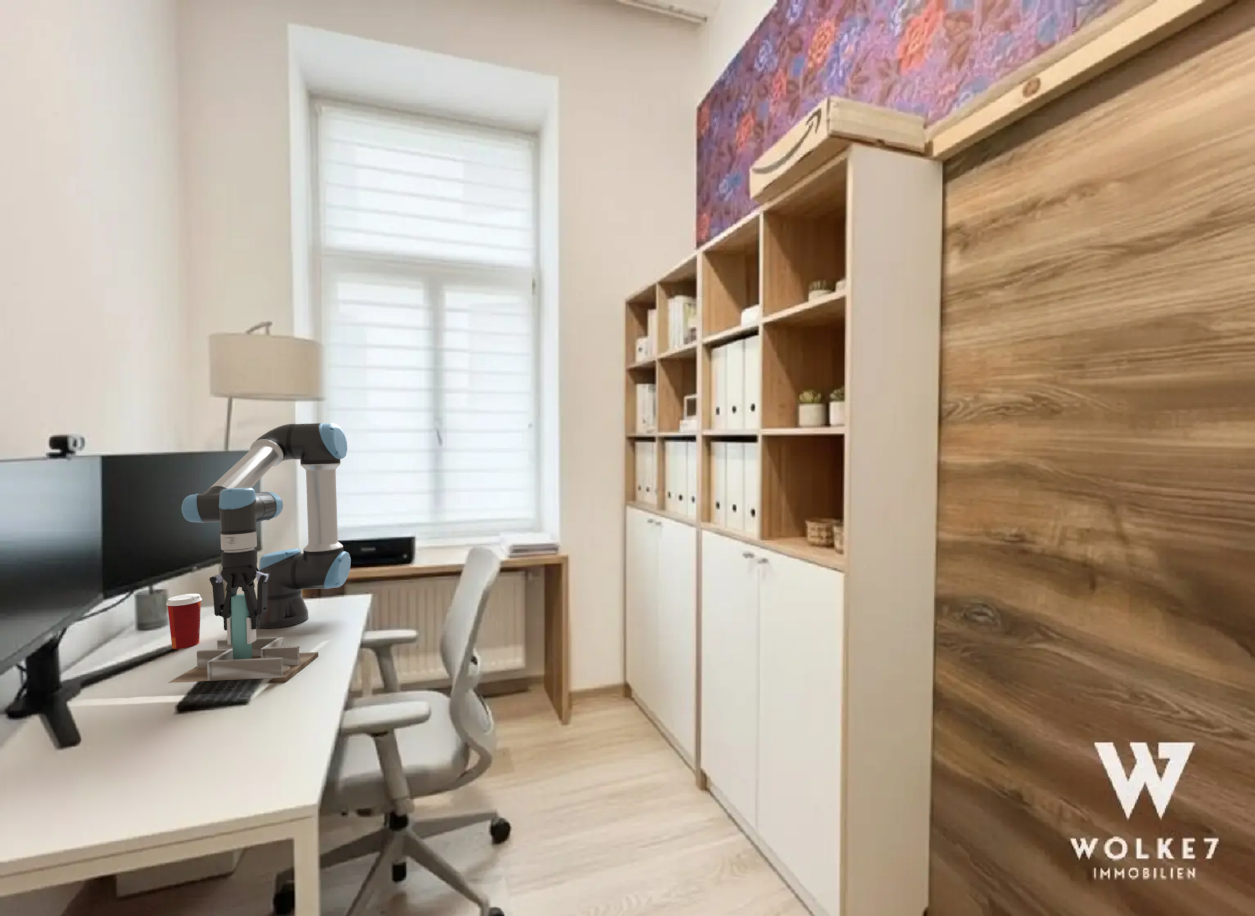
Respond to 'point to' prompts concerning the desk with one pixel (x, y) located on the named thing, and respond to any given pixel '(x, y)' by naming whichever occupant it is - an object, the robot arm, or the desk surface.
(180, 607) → the coffee cup
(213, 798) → the desk surface
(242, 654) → the teal dowel
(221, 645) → the slot board
